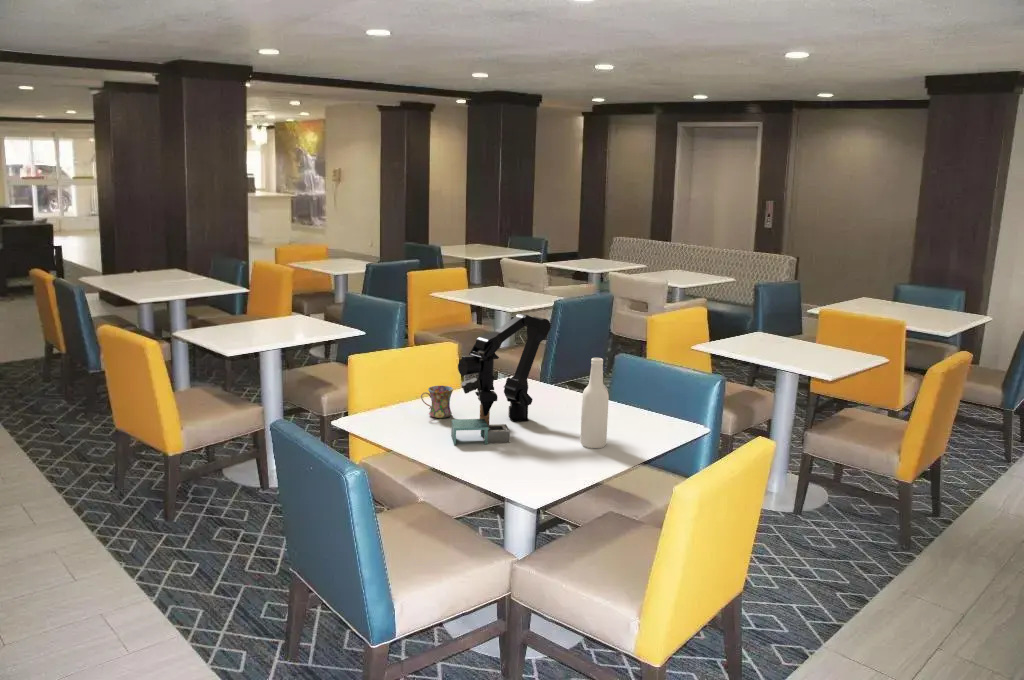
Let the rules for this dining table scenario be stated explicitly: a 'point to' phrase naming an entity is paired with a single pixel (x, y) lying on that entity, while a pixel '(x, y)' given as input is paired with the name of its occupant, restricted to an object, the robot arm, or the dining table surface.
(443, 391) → the mug
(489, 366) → the robot arm
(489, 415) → the peg
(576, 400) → the dining table surface
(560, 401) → the dining table surface
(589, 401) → the alcohol
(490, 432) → the station
